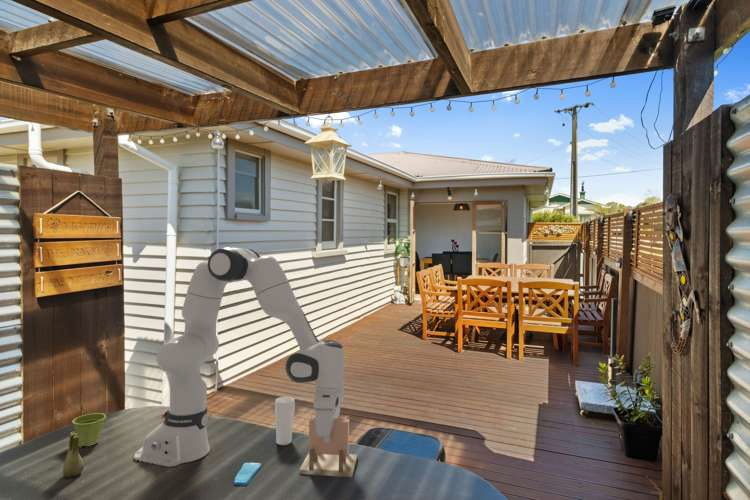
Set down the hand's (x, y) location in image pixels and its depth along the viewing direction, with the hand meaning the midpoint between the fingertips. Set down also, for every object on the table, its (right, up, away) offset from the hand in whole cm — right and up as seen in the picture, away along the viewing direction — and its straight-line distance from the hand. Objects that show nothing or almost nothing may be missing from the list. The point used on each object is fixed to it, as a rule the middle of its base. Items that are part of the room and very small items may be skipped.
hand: (328, 439), depth 127 cm
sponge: (-24, -9, -4) cm, 26 cm away
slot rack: (0, -10, +3) cm, 10 cm away
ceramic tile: (0, -4, 0) cm, 4 cm away
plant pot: (-83, -8, +14) cm, 85 cm away
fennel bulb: (-74, -8, -6) cm, 75 cm away
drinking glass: (-18, -10, +18) cm, 27 cm away
